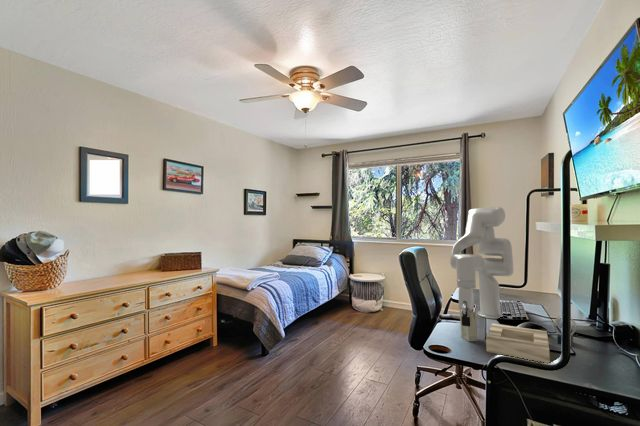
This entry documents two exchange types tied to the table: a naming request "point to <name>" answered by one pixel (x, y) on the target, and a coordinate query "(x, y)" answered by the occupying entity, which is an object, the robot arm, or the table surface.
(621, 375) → the table surface
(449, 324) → the table surface
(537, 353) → the organizer
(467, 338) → the skincare box
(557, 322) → the watch
